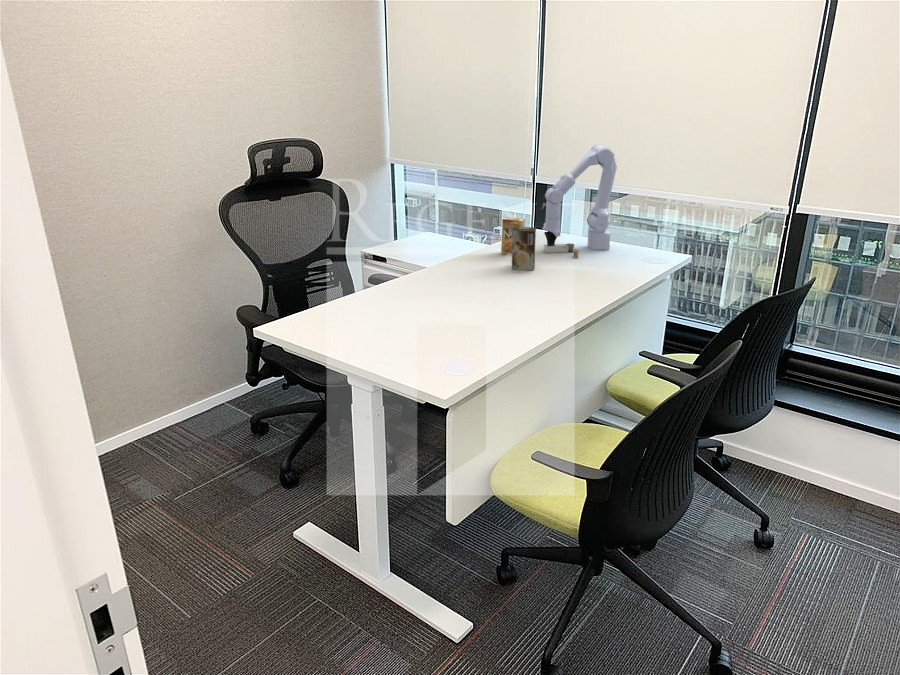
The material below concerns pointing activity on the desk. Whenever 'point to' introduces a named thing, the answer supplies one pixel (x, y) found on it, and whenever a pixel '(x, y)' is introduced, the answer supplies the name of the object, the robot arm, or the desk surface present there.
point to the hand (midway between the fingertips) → (550, 248)
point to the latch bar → (558, 248)
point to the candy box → (509, 232)
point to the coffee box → (523, 248)
